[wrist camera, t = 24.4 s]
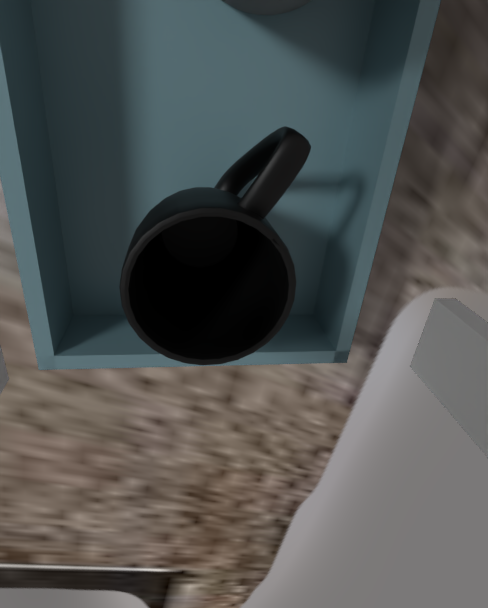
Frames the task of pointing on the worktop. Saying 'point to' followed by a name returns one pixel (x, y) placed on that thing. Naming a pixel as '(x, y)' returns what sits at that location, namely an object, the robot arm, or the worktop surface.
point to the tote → (197, 150)
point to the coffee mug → (266, 6)
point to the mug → (216, 261)
